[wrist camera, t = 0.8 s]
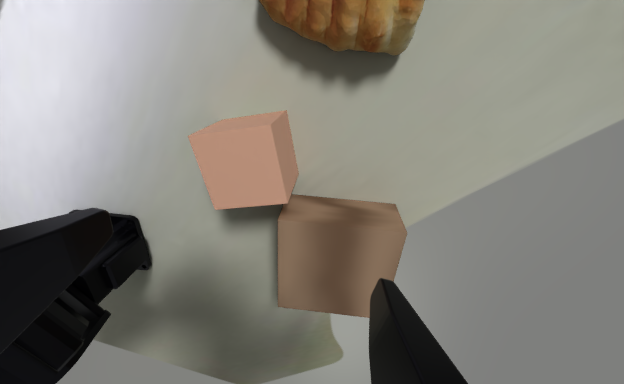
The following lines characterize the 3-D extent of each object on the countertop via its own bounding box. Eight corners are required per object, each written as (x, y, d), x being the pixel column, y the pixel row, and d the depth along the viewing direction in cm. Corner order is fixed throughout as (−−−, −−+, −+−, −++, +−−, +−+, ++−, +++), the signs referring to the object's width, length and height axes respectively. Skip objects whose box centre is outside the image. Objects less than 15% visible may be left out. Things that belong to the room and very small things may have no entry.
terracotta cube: (240, 179, 21) (215, 209, 17) (222, 119, 19) (187, 136, 15) (298, 173, 20) (287, 203, 16) (286, 110, 18) (270, 124, 14)
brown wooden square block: (286, 272, 25) (278, 306, 22) (287, 194, 21) (277, 219, 18) (376, 282, 25) (382, 319, 21) (395, 204, 21) (407, 232, 17)
